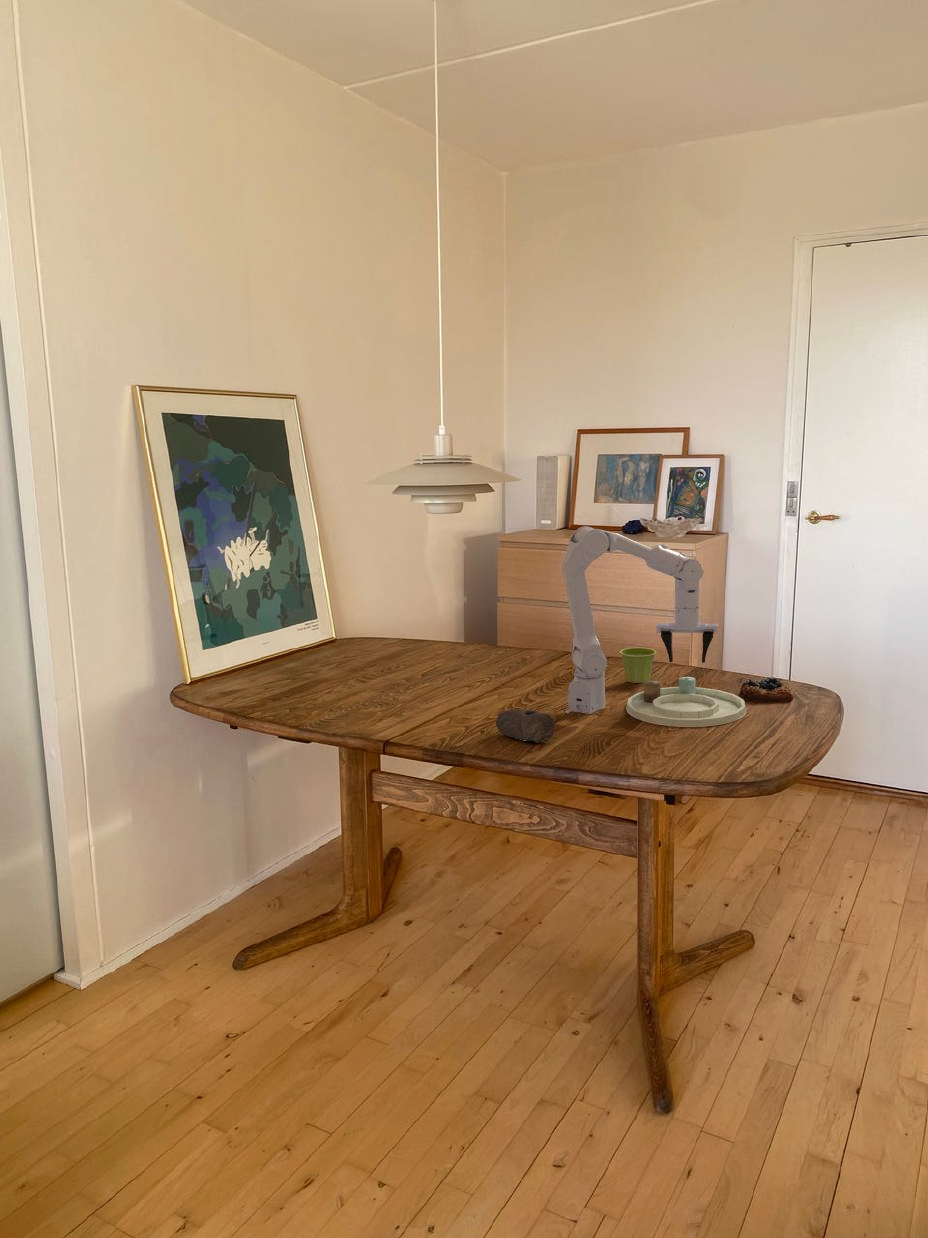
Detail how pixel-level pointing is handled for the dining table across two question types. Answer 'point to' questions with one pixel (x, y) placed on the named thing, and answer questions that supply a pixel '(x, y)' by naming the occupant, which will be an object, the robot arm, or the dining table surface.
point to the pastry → (765, 691)
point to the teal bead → (686, 685)
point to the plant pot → (637, 664)
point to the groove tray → (688, 708)
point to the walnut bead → (651, 691)
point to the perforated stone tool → (526, 725)
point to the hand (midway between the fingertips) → (687, 661)
